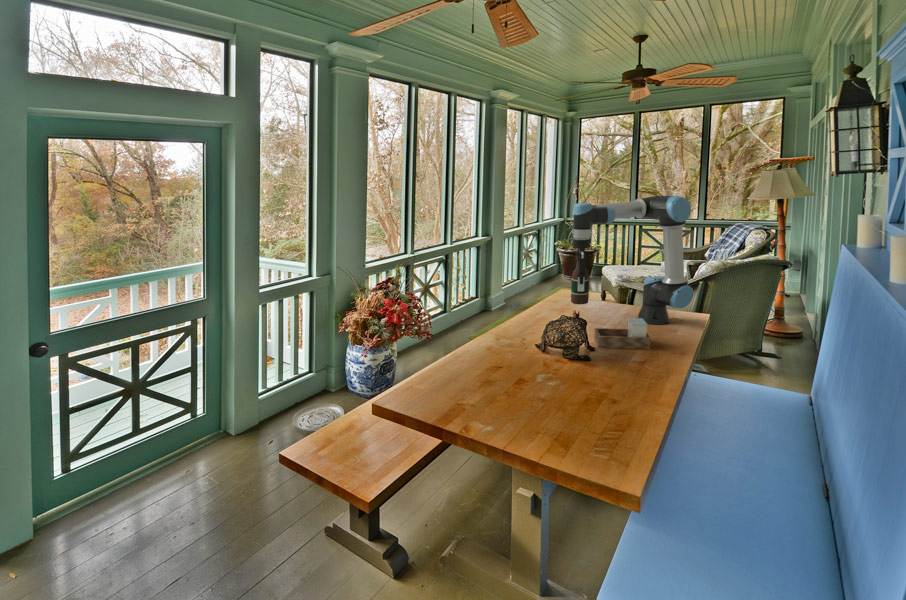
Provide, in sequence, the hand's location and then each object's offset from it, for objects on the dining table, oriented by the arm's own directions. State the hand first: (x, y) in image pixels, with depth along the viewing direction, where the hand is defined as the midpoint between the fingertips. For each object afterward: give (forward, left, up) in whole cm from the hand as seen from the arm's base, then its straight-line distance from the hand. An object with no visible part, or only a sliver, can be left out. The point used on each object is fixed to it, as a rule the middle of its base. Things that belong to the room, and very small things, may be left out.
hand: (580, 289), depth 247 cm
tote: (-11, +16, -24) cm, 30 cm away
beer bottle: (0, 0, -6) cm, 6 cm away
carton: (-15, +20, -23) cm, 34 cm away
